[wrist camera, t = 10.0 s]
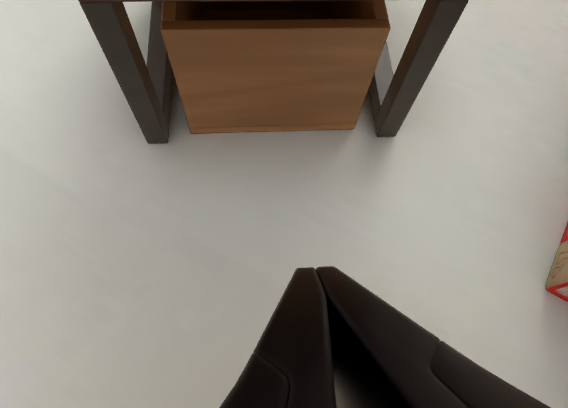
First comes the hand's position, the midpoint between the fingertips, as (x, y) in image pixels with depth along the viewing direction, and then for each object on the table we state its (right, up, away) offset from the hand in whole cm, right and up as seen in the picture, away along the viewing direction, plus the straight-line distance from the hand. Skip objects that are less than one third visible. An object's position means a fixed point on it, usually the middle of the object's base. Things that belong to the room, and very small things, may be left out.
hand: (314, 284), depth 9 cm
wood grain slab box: (-2, +11, +18) cm, 21 cm away
